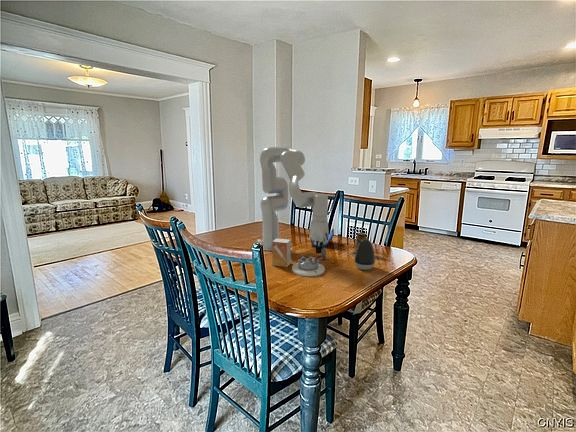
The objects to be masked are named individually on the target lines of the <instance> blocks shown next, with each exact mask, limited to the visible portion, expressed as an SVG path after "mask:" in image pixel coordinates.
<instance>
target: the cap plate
mask: <svg viewBox="0 0 576 432" xmlns="http://www.w3.org/2000/svg"><path fill="white" fill-rule="evenodd" d="M291 271H292V272H293V274H295V275H298V276H301V277H317V276H321V275H323V274H324V273H325V266H324V265H323V264H321V263H319V267H318V269H316V270H313V271H306V270H301V269H299V268H298V262H297V263H294V264H293V265H292V267H291Z"/></svg>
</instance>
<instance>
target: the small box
mask: <svg viewBox="0 0 576 432" xmlns="http://www.w3.org/2000/svg"><path fill="white" fill-rule="evenodd" d="M291 246H292V240H291V239H286V238H278V239H275V240H274V241H273V243H272V255H271V256H272V258H271V259H272V261H271V262H272V263H271V265H272V266H274V267H283V268H288V266H290V264H291V256H292V255H291V251H292V250H291Z"/></svg>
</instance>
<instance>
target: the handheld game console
mask: <svg viewBox="0 0 576 432" xmlns="http://www.w3.org/2000/svg"><path fill="white" fill-rule="evenodd" d="M334 229H335V228H332V229H331V231H330V232H329V237H328V240H327V244H324V245H323V246H322V248H326V249H327V246H328V244H329V243H330V241H331V239H333V237H334V235H335V232H334V231H335V230H334ZM311 248H316V245H315V242H314V241H313V240H312V242H311Z"/></svg>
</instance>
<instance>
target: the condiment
mask: <svg viewBox="0 0 576 432" xmlns="http://www.w3.org/2000/svg"><path fill="white" fill-rule="evenodd" d="M367 236H368V235H367V233H364V232H359V233H356V239H355V251H354V252H350V255H353V256H355V253H356V250H357V247H358V245H359V242H358V241H357V239H359V240H361V241H362V240H363V239H368V238H367Z"/></svg>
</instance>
